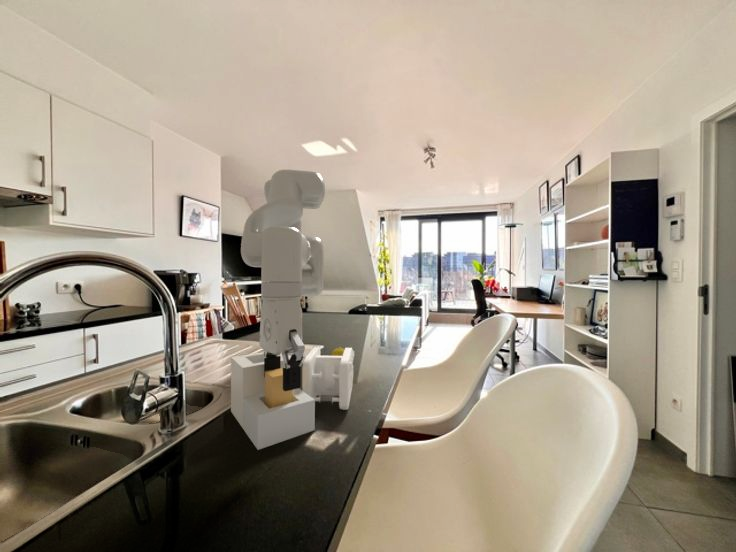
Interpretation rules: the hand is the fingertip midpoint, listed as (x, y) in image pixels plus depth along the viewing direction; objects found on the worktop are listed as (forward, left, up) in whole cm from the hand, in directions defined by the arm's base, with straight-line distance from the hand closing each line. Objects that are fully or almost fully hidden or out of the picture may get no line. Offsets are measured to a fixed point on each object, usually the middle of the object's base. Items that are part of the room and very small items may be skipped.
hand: (281, 382), depth 58 cm
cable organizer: (-7, +15, -10) cm, 20 cm away
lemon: (-22, +27, -10) cm, 36 cm away
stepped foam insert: (-6, 0, -10) cm, 12 cm away
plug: (-2, 0, -7) cm, 7 cm away
